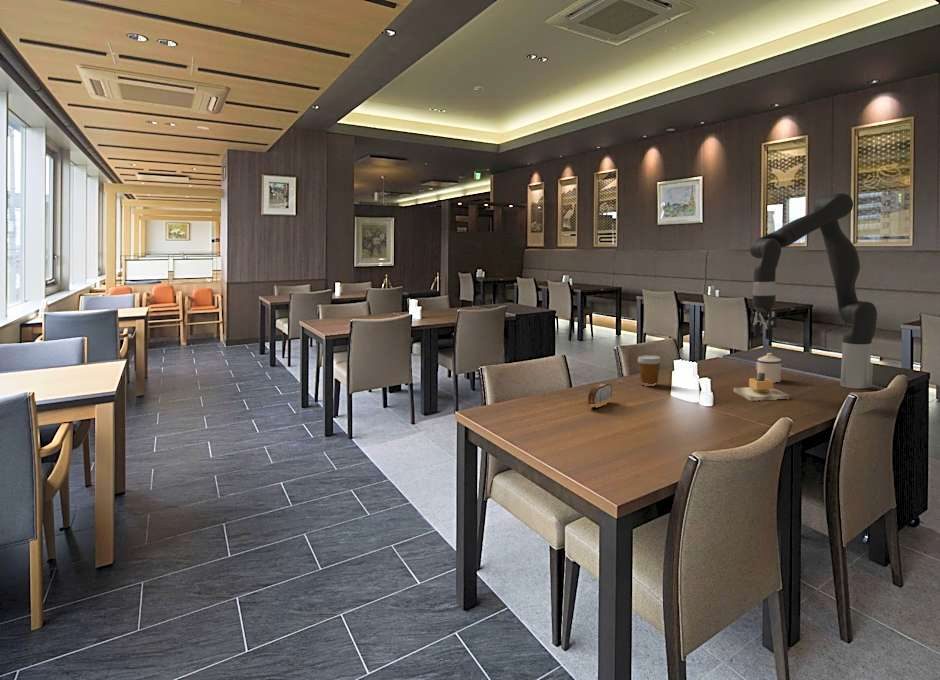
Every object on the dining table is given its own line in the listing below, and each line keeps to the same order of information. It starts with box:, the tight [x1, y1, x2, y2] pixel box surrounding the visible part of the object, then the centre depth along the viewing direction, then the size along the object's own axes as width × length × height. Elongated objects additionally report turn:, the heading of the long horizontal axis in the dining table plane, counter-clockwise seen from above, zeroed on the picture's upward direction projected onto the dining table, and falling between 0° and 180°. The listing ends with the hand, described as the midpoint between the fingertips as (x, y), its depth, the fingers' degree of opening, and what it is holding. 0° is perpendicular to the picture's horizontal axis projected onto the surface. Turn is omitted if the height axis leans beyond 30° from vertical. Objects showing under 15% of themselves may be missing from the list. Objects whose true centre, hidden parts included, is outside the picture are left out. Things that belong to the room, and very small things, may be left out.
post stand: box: [733, 373, 791, 402], centre depth 211 cm, size 14×14×8 cm
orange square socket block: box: [748, 377, 774, 390], centre depth 211 cm, size 6×6×3 cm
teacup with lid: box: [755, 352, 783, 384], centre depth 234 cm, size 12×9×12 cm
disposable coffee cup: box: [637, 354, 662, 384], centre depth 235 cm, size 10×10×12 cm
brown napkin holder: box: [587, 381, 613, 405], centre depth 207 cm, size 15×3×8 cm, turn 141°
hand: (762, 337), depth 209 cm, fingers open, 8 cm apart
